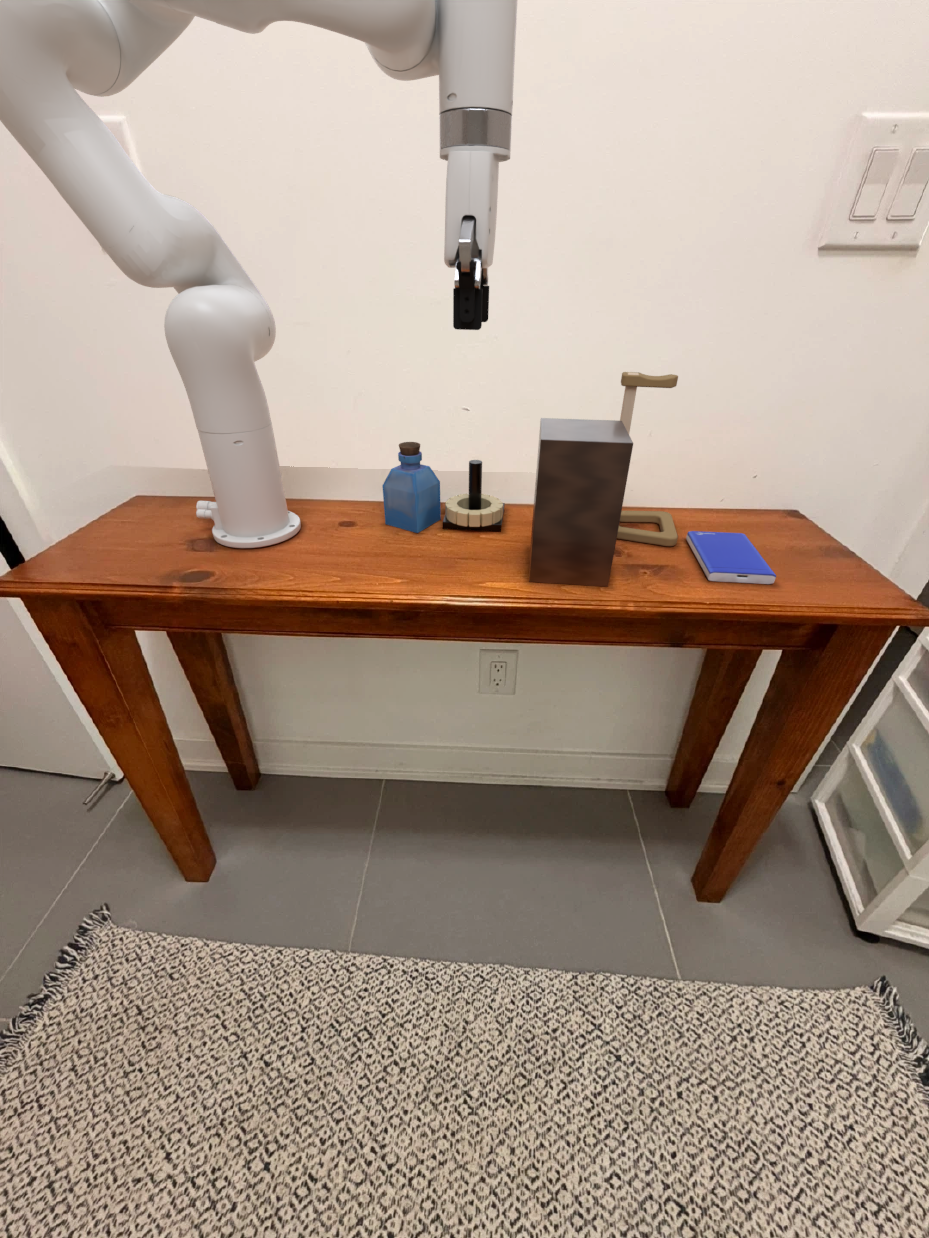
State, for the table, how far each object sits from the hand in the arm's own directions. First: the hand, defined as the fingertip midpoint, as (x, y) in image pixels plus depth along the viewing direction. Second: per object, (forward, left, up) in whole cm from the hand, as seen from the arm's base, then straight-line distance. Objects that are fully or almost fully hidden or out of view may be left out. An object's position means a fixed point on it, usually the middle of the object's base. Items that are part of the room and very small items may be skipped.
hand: (471, 325), depth 66 cm
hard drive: (+36, -4, -28) cm, 46 cm away
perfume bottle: (-9, +4, -28) cm, 30 cm away
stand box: (+14, -8, -28) cm, 32 cm away
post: (0, +6, -28) cm, 28 cm away
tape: (0, +4, -27) cm, 27 cm away
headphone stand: (+25, +5, -28) cm, 38 cm away
